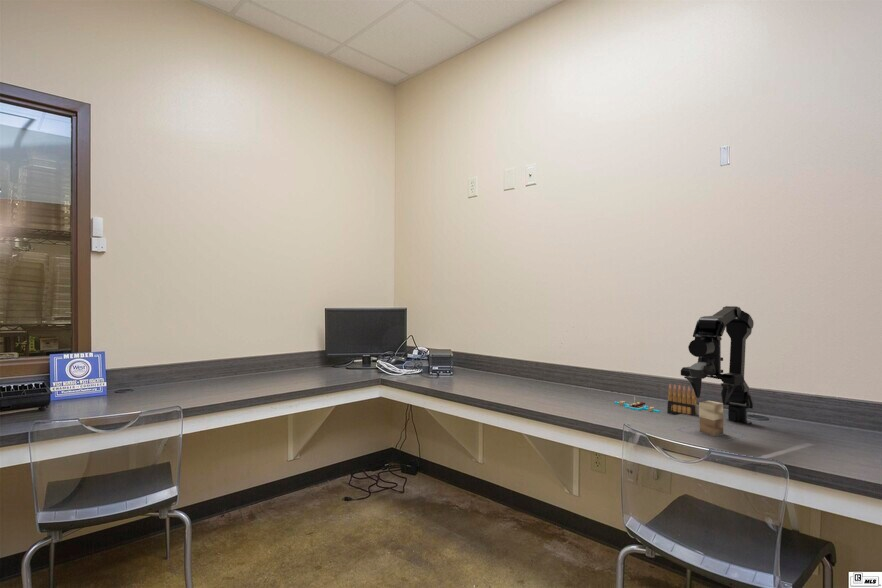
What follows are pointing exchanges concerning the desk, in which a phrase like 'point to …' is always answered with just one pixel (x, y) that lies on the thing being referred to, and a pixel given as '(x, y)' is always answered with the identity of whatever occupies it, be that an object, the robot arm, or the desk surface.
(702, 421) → the walnut block
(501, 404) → the desk surface
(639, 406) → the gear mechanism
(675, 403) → the ammunition clip
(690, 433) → the blueprint board
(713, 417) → the maple block
